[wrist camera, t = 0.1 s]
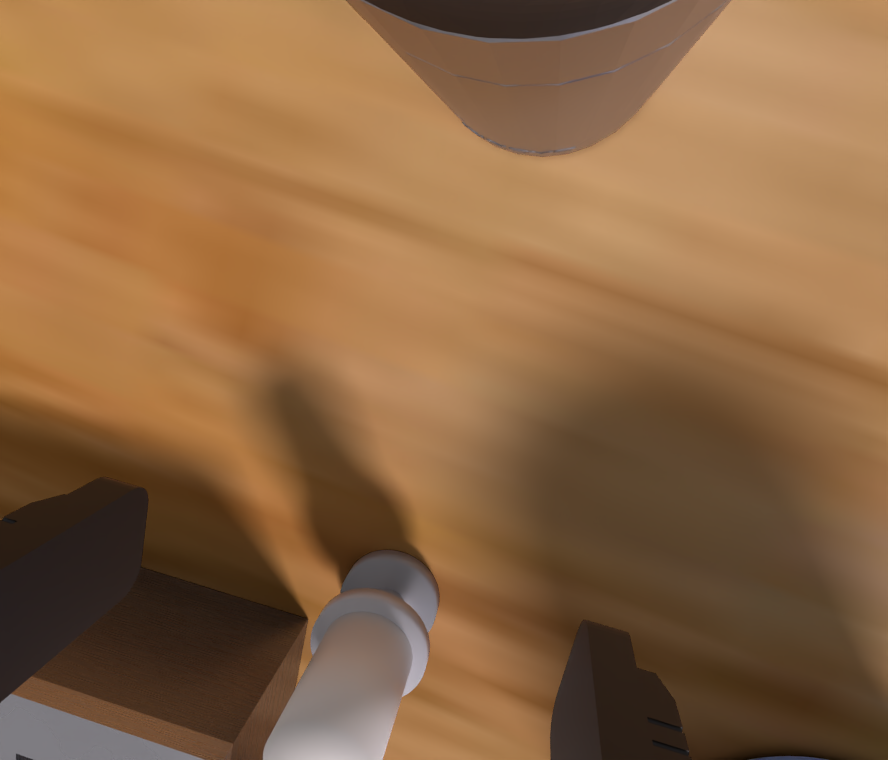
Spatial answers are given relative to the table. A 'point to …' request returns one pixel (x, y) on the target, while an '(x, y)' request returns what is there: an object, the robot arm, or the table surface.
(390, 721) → the peg
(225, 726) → the keyhole stand
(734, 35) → the table surface
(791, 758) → the water jug
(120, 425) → the table surface
